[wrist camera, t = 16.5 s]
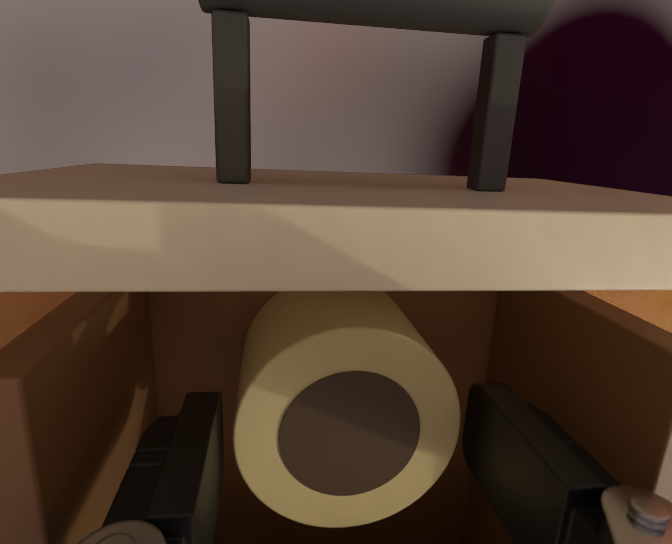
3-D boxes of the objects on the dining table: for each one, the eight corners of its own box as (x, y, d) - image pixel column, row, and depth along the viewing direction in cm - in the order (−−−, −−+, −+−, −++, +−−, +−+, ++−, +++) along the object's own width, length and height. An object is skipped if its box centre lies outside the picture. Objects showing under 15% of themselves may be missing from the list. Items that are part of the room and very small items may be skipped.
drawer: (76, -15, 11) (-297, -312, 4) (564, 27, 13) (939, -119, 6) (135, 570, 16) (22, 924, 9) (481, 541, 18) (625, 813, 11)
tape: (244, 432, 14) (234, 539, 10) (241, 273, 13) (228, 330, 9) (404, 424, 15) (450, 522, 11) (418, 273, 14) (475, 326, 10)
